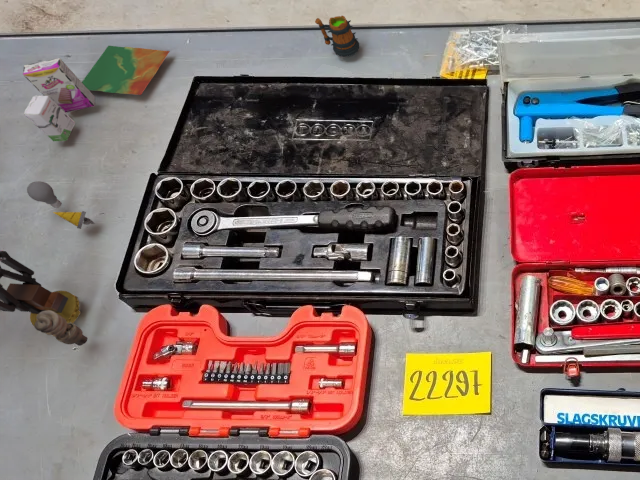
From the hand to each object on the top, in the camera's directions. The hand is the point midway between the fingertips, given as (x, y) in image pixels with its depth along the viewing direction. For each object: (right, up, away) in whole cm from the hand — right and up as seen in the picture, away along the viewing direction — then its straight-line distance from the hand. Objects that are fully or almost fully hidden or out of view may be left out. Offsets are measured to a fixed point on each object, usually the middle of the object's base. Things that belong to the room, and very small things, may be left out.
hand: (42, 303), depth 145 cm
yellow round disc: (0, -3, +5) cm, 6 cm away
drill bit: (-3, +24, +18) cm, 30 cm away
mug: (+66, +94, +51) cm, 125 cm away
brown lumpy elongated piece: (+11, -10, +1) cm, 15 cm away
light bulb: (-14, +31, +21) cm, 40 cm away
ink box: (-23, +58, +35) cm, 72 cm away
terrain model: (-12, +85, +48) cm, 98 cm away
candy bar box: (-23, +69, +40) cm, 83 cm away
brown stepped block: (0, 0, 0) cm, 0 cm away
